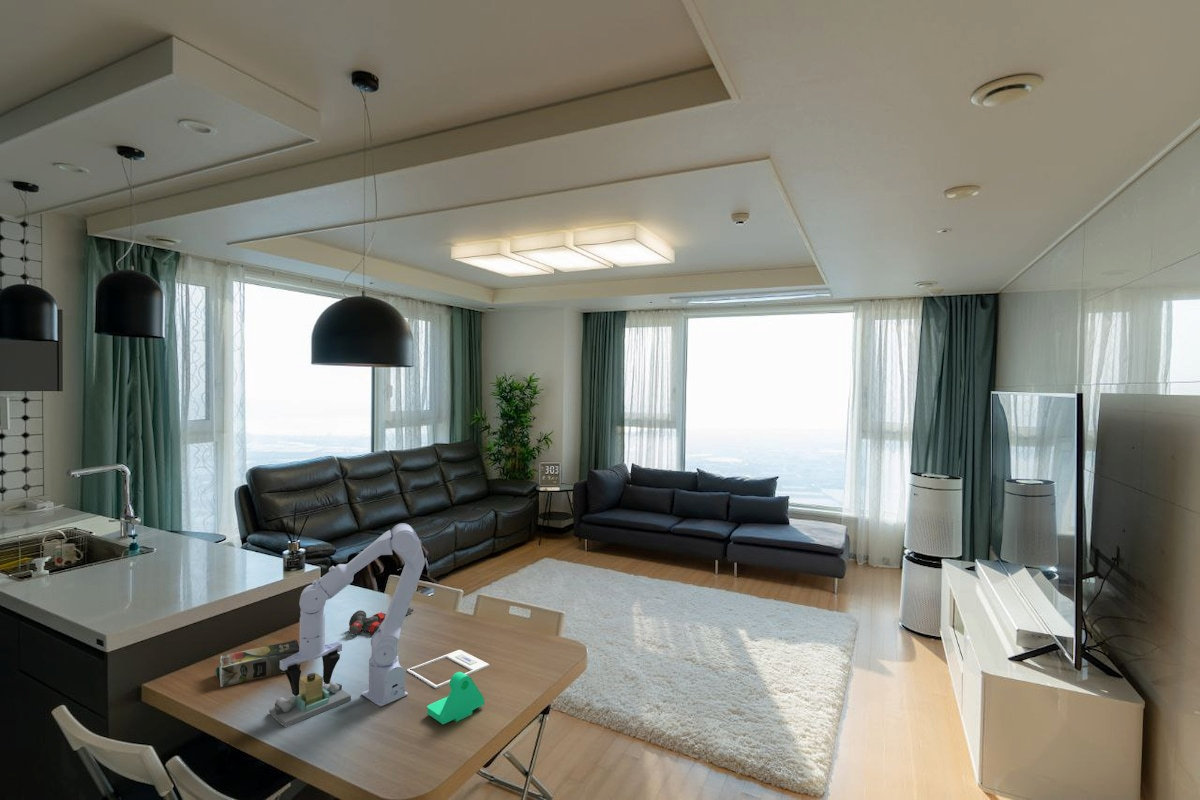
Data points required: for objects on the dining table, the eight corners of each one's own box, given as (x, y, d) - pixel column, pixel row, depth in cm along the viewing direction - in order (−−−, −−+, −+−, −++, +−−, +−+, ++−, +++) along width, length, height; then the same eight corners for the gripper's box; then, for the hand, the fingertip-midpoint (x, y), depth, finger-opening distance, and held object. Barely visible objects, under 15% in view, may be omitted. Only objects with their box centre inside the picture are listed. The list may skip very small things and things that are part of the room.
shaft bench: (350, 700, 146) (351, 686, 146) (285, 727, 134) (285, 712, 134) (333, 688, 152) (334, 675, 152) (269, 713, 140) (269, 699, 140)
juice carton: (216, 689, 151) (216, 666, 151) (215, 675, 159) (215, 653, 159) (300, 671, 162) (301, 649, 163) (295, 658, 170) (296, 637, 171)
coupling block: (322, 701, 143) (322, 674, 143) (305, 707, 140) (306, 680, 140) (314, 695, 146) (315, 669, 146) (298, 702, 143) (299, 675, 143)
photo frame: (489, 663, 167) (435, 686, 153) (489, 667, 167) (435, 690, 153) (459, 648, 176) (406, 668, 163) (459, 652, 176) (406, 672, 162)
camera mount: (466, 698, 149) (466, 658, 149) (484, 708, 144) (484, 668, 144) (425, 716, 140) (426, 675, 140) (443, 729, 135) (443, 685, 135)
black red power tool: (368, 651, 180) (337, 634, 187) (428, 626, 203) (399, 612, 210) (371, 631, 180) (340, 615, 187) (431, 609, 203) (402, 595, 210)
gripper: (333, 621, 151) (332, 672, 151) (274, 639, 140) (273, 694, 140) (346, 628, 147) (345, 681, 147) (287, 647, 135) (286, 704, 135)
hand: (311, 688), depth 143 cm, fingers open, 7 cm apart
